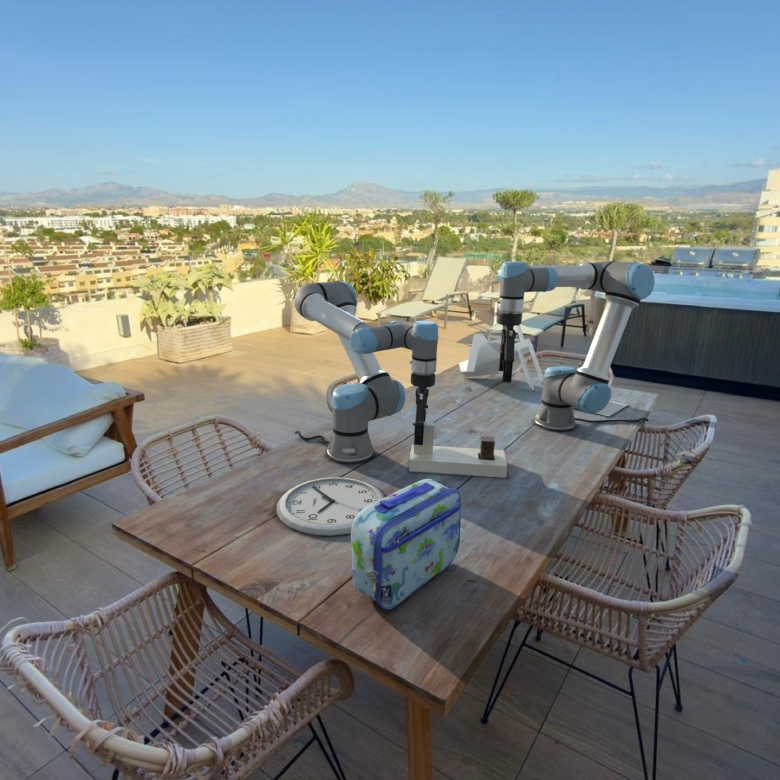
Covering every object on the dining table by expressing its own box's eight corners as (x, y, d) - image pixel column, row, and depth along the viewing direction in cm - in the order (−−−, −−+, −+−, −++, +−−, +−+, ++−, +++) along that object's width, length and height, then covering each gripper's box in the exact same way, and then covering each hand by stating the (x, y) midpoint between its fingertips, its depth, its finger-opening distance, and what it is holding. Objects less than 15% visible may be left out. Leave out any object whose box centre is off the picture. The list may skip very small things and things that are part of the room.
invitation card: (608, 416, 214) (573, 407, 224) (608, 416, 214) (573, 408, 224) (628, 404, 229) (594, 396, 238) (628, 405, 229) (594, 397, 238)
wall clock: (392, 527, 129) (268, 531, 127) (391, 533, 130) (269, 537, 127) (383, 473, 158) (282, 475, 155) (383, 478, 158) (282, 480, 156)
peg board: (502, 461, 172) (506, 421, 168) (506, 477, 160) (510, 435, 156) (411, 455, 175) (413, 416, 171) (408, 471, 164) (410, 429, 159)
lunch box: (380, 623, 100) (381, 528, 94) (344, 596, 108) (343, 505, 101) (464, 565, 118) (470, 482, 112) (428, 545, 125) (432, 466, 119)
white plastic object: (480, 419, 265) (459, 396, 241) (461, 346, 287) (441, 319, 263) (551, 395, 253) (536, 368, 228) (526, 321, 275) (510, 290, 251)
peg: (491, 465, 168) (493, 436, 165) (492, 471, 165) (494, 441, 162) (479, 464, 169) (481, 436, 166) (479, 470, 165) (481, 440, 162)
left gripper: (413, 360, 172) (410, 420, 179) (408, 383, 149) (404, 451, 155) (436, 362, 171) (432, 422, 178) (434, 385, 148) (430, 453, 155)
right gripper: (495, 305, 177) (490, 366, 184) (501, 317, 154) (495, 386, 160) (517, 306, 176) (512, 367, 183) (527, 318, 153) (520, 388, 159)
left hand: (419, 435), depth 167 cm, fingers open, 13 cm apart
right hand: (504, 376), depth 171 cm, fingers open, 13 cm apart
